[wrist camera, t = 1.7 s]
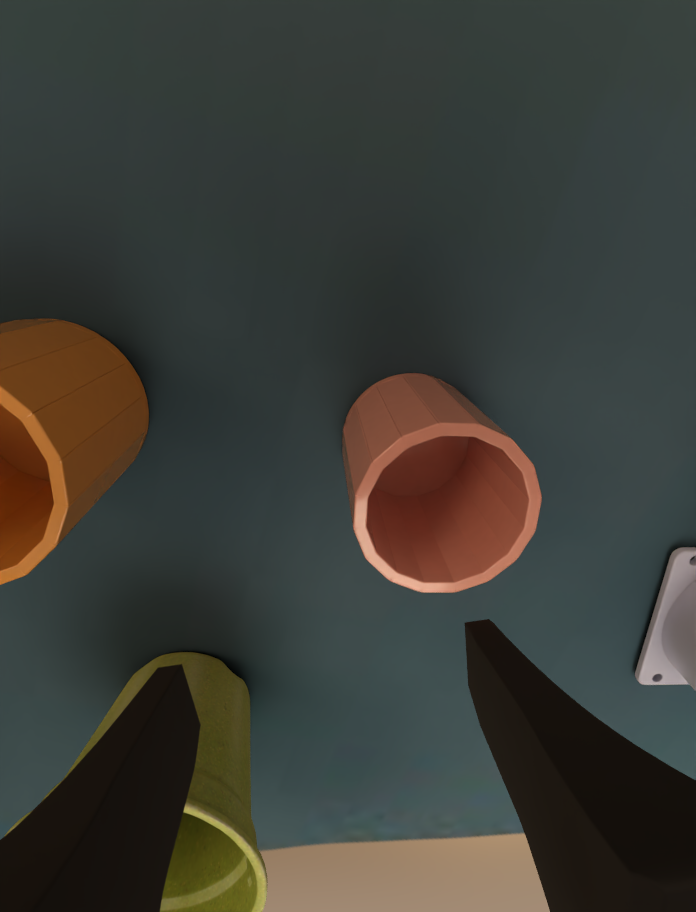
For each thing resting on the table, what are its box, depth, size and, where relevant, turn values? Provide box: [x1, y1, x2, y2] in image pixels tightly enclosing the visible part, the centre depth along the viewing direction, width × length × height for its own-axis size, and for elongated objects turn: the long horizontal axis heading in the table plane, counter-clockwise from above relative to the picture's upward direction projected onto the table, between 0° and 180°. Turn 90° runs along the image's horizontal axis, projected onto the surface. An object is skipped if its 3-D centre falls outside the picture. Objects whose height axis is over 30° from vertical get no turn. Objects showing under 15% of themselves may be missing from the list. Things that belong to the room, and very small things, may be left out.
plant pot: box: [5, 652, 267, 912], centre depth 22 cm, size 9×9×9 cm
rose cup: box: [342, 373, 542, 593], centre depth 19 cm, size 6×6×7 cm
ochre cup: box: [0, 318, 149, 585], centre depth 17 cm, size 7×7×8 cm
